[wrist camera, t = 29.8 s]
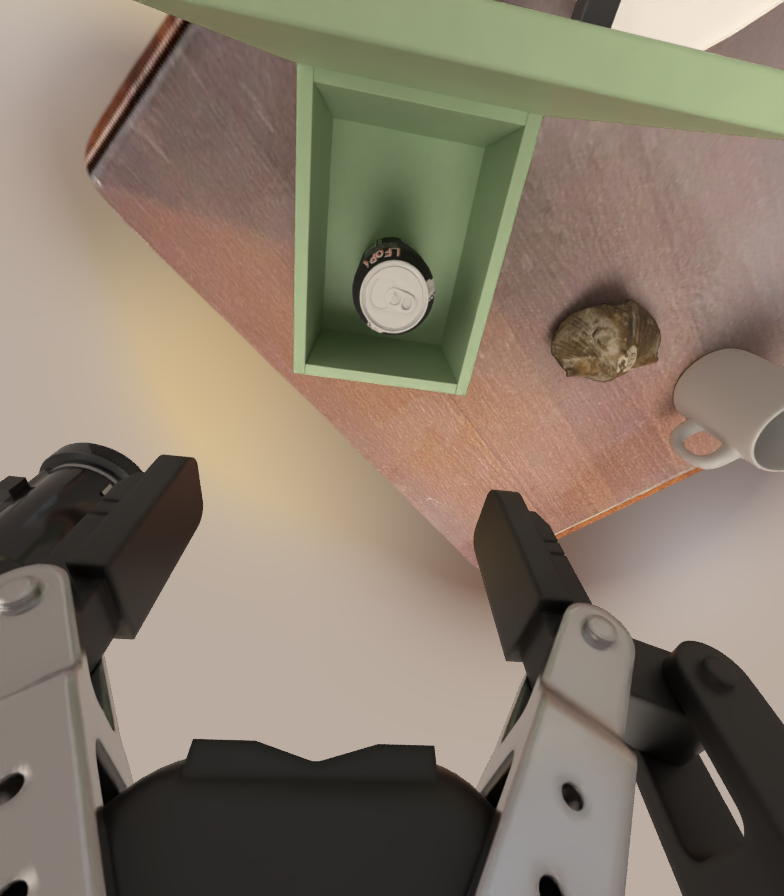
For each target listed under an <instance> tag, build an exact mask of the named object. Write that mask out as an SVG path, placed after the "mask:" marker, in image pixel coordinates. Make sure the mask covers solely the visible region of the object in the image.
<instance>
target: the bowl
mask: <svg viewBox="0 0 784 896" xmlns="http://www.w3.org/2000/svg"><path fill="white" fill-rule="evenodd" d="M576 1H577V0H576ZM783 2H784V0H621V2H620V5H619V8H618V10H617V13H616V16H615V19H614V21H613V24H612V27H611V29H615V30H619V31H623V32H628V33H632V34H636V35H640V36H644V37H648V38H652V39H657V40H661V41H665V42H669V43H673V44H677V45H682V46H686V47H690V48H694V49H698V50H702V51H704V50H706V49H708V48H710V47H712V46H714V45H715V44H717V43H719V42H721V41H723V40H725V39H726V38H728V37H730V36H732V35H733V34H735V33H736V32H738V31H739V30H741V29H742V28H744V27H746V26H747V25H749V24H750V23H752V22H753V21H755V20H756V19H758V18H759V17H761V16H763V15H764V14H766V13H767V12H769V11H770V10H772V9H773V8H775V7H776V6H778V5H779V4H781V3H783Z"/></svg>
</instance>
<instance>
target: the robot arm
mask: <svg viewBox="0 0 784 896" xmlns="http://www.w3.org/2000/svg"><path fill="white" fill-rule="evenodd" d="M202 511H203V500H202V493H201V486H200V480H199V472H198V465H197V462H196V460H195V459H194V458H191V457H182V456H171V455H161V456H159V457H158V458H157V459H156V460H155V461H154V463H153V464H152V465H151V466H150V467H149V468H148V470H146V472H135V473H133V474H132V475H130V476H128V477H126V478H124V479H123V480H121V479H120V478H119V477H117V476H116V475H115V474H113V473H112V472H110V471H109V470H107V469H105V468H103V467H101V466H98V465H96V464H93V463H89V462H83V461H69V462H64V463H62V464H59V465H58V466H56V467H55V468H46V469H44V470H43V471H42V472H40V473H39V474H38V475H37V476H35V477H34V478H33V479H32V480H30V481H29V482H27V480H26V478H25V477H15V476H8V477H7V478H5V479H4V480H2V481H1V482H0V896H625V886H626V876H627V865H628V855H629V845H630V835H631V824H632V814H633V804H634V794H635V784H636V782H637V785H638V787H639V790H640V792H641V795H642V797H643V799H644V802H645V804H646V807H647V809H648V812H649V814H650V817H651V819H652V821H653V824H654V827H655V829H656V831H657V834H658V836H659V839H660V841H661V844H662V846H663V849H664V851H665V853H666V856H667V858H668V861H669V863H670V866H671V868H672V871H673V873H674V876H675V878H676V881H677V883H678V885H679V888H680V890H681V893H682V895H683V896H784V724H783V723H782V722H781V720H780V719H779V718H778V716H777V715H776V714H775V712H774V711H773V710H772V708H771V707H770V706H769V704H768V703H767V702H766V700H765V699H764V697H763V696H762V695H761V694H760V692H759V691H758V689H757V688H756V687H755V685H754V684H753V683H752V681H751V680H750V679H749V677H748V676H747V675H746V674H745V673H744V672H743V670H742V669H741V668H740V667H739V666H738V665H737V664H735V663H734V662H733V661H732V660H731V659H730V658H728V657H727V656H726V655H724V654H723V653H721V652H720V651H718V650H716V649H714V648H713V647H711V646H708V645H706V644H703V643H700V642H696V641H684V642H682V643H681V644H679V645H678V647H677V648H676V649H675V650H674V651H673V652H672V653H671V652H668V651H666V650H663V649H660V648H657V647H654V646H652V645H649V644H646V643H643V642H641V641H638V640H635V639H633V638H632V637H631V636H630V634H629V632H628V631H627V630H626V628H625V627H624V626H623V625H622V623H621V622H620V621H618V620H617V619H616V618H615V617H614V616H612V615H611V614H610V613H609V612H607V611H605V610H604V609H602V608H600V607H598V606H595V605H592V603H591V601H590V600H589V597H588V596H587V594H586V592H585V590H584V588H583V586H582V585H581V583H580V581H579V579H578V577H577V575H576V574H575V572H574V570H573V568H572V566H571V564H570V562H569V561H568V559H567V557H566V556H564V552H563V550H562V548H561V546H560V544H559V543H557V539H556V537H555V535H554V533H553V531H552V529H551V528H550V526H549V525H548V524H547V523H546V522H545V521H544V520H543V519H542V518H541V517H540V516H539V515H538V514H537V513H536V512H533V511H529V510H528V508H527V506H526V504H525V502H524V500H523V498H522V496H521V495H520V493H518V492H511V491H502V490H491V491H490V492H489V493H488V495H487V498H486V500H485V503H484V506H483V509H482V511H481V514H480V517H479V520H478V522H477V525H476V528H475V532H474V550H475V554H476V557H477V561H478V564H479V568H480V571H481V575H482V578H483V582H484V585H485V589H486V592H487V596H488V599H489V603H490V607H491V610H492V614H493V617H494V621H495V624H496V628H497V631H498V635H499V638H500V641H501V645H502V649H503V652H504V656H505V659H506V661H514V662H523V664H524V667H525V670H526V674H525V676H524V678H523V679H522V682H521V684H520V687H519V690H518V692H517V694H516V697H515V700H514V702H513V705H512V707H511V710H510V712H509V715H508V717H507V720H506V722H505V725H504V727H503V730H502V732H501V735H500V737H499V740H498V742H497V745H496V748H495V750H494V752H493V754H492V756H491V758H490V760H489V762H488V764H487V766H486V768H485V770H484V772H483V774H482V776H481V778H480V780H479V783H478V785H477V787H476V789H475V788H474V787H473V786H472V785H471V784H470V783H468V782H467V781H465V780H464V779H462V778H461V777H460V776H458V775H457V774H455V773H453V772H451V771H449V770H448V769H446V768H444V767H441V766H439V765H436V758H435V750H434V749H435V748H434V746H424V745H421V746H420V745H388V744H387V745H386V744H377V745H374V746H370V747H367V748H364V749H360V750H357V751H353V752H350V753H347V754H343V755H340V756H336V757H333V758H329V759H326V760H323V761H310V760H307V759H304V758H301V757H299V756H296V755H293V754H290V753H288V752H285V751H282V750H279V749H277V748H274V747H271V746H268V745H265V744H263V743H260V742H257V741H244V740H208V739H207V740H206V739H193V741H192V744H191V747H190V750H189V753H188V755H187V758H186V759H185V760H181V761H177V762H175V763H172V764H170V765H167V766H165V767H162V768H160V769H158V770H156V771H155V772H153V773H151V774H149V775H147V776H145V777H143V778H141V779H140V780H138V781H137V782H135V783H133V779H132V775H131V771H130V767H129V764H128V761H127V757H126V754H125V751H124V748H123V745H122V741H121V737H120V732H119V727H118V722H117V717H116V712H115V707H114V702H113V696H112V691H111V686H110V681H109V676H108V671H107V666H106V661H105V657H104V655H103V654H104V652H105V651H106V649H107V647H108V646H109V644H110V642H111V641H112V639H113V638H118V639H134V638H135V637H136V635H137V633H138V631H139V629H140V628H141V626H142V624H143V622H144V621H145V619H146V617H147V615H148V614H149V612H150V610H151V608H152V607H153V605H154V603H155V601H156V600H157V598H158V596H159V594H160V592H161V591H162V589H163V587H164V585H165V584H166V582H167V580H168V578H169V577H170V575H171V573H172V571H173V570H174V567H175V566H176V564H177V563H178V561H179V559H180V557H181V555H182V554H183V552H184V550H185V548H186V547H187V545H188V543H189V541H190V540H191V538H192V536H193V534H194V532H195V531H196V529H197V527H198V525H199V523H200V520H201V517H202ZM704 750H705V751H706V752H707V754H708V756H709V758H710V759H711V761H712V763H713V765H714V766H715V768H716V770H717V772H718V774H719V775H720V777H721V779H722V781H723V783H724V784H725V786H726V788H727V790H728V792H729V793H730V795H731V797H732V799H733V801H734V802H735V804H736V806H737V808H738V810H739V812H740V815H741V817H742V820H743V824H744V836H743V835H742V833H741V831H740V829H739V827H738V825H737V824H736V822H735V820H734V818H733V816H732V814H731V813H730V811H729V809H728V807H727V805H726V804H725V802H724V800H723V798H722V796H721V794H720V792H719V791H718V789H717V787H716V785H715V783H714V781H713V780H712V778H711V776H710V774H709V772H708V770H707V768H706V767H705V765H704V763H703V761H702V759H701V757H700V756H699V754H700V753H701V752H703V751H704Z"/></svg>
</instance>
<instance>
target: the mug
mask: <svg viewBox="0 0 784 896" xmlns="http://www.w3.org/2000/svg"><path fill="white" fill-rule="evenodd" d="M673 402H674V406H675V408H676V410H677V411H678V412H679V413H680V414H681V415H682V416H683V417H685V418H686V419H687V420H685V421H684V422H683V423H681V424H680V425H679V426H677V427H676V428H675V429H674V430H673V431H672V433H671V434H670V438H669V441H670V444H671V446H672V448H673V449H674V451H675V452H676V453H677V454H678V455H679V456H680V457H681V458H682V459H684V460H685V461H686V462H688V463H690V464H691V465H694V466H696V467H698V468H702V469H715V468H719V467H721V466H723V465H726V464H728V463H730V462H732V461H734V460H736V459H738V458H743V459H744V460H746V461H748V462H749V463H751V464H753V465H754V466H756V467H758V468H760V469H763V470H766V471H773V472H780V471H784V367H783V366H780V365H778V364H775V363H773V362H771V361H768V360H766V359H764V358H761V357H759V356H757V355H755V354H752V353H750V352H747V351H744V350H741V349H735V348H728V349H721V350H717V351H714V352H712V353H709V354H707V355H705V356H703V357H702V358H700V359H698V360H697V361H696V362H694V363H693V364H692V365H691V366H690V367H689V368H687V370H686V371H685V372H684V373H683V374H682V376H681V377H680V379H679V380H678V382H677V384H676V386H675V389H674V394H673ZM700 431H704V432H705V433H707V434H709V435H710V436H712V437H714V438H715V439H717V440H718V441H720V442H721V443H723V445H722V446H721V447H720V448H719V449H717V450H716V451H715V452H713V453H711V454H709V455H705V456H699V455H695V454H693V453H691V452H690V451H688V450H687V449H686V448H685V446H684V441H685V439H686V438H688V437H689V436H691V435H692V434H694V433H697V432H700Z"/></svg>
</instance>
